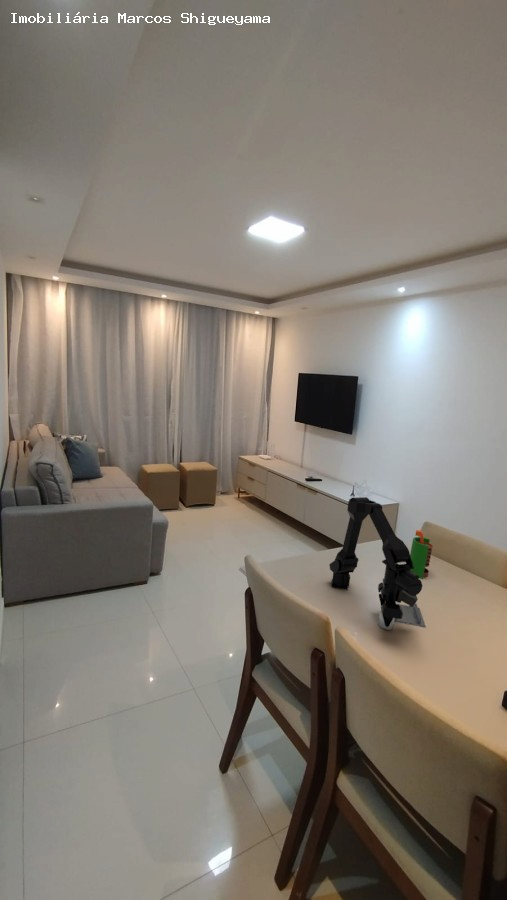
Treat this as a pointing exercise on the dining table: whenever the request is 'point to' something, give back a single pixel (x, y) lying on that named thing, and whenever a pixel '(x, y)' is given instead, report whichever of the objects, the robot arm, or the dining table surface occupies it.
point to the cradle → (411, 616)
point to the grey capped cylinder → (382, 624)
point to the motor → (420, 554)
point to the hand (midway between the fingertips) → (386, 622)
